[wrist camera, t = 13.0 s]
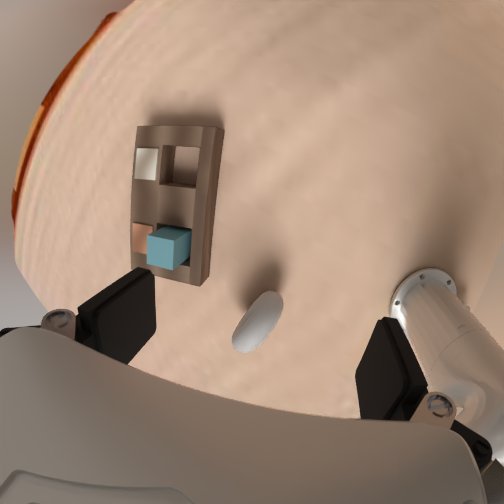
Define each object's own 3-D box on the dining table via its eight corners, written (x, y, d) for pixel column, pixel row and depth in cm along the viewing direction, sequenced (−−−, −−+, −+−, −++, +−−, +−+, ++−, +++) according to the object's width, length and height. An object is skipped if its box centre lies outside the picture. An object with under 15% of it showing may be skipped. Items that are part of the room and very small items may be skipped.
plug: (197, 226, 40) (174, 240, 33) (195, 251, 42) (172, 270, 34) (174, 222, 41) (147, 235, 33) (172, 246, 42) (146, 263, 35)
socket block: (224, 130, 35) (214, 126, 31) (208, 276, 42) (199, 287, 38) (151, 128, 37) (136, 125, 33) (143, 261, 44) (130, 270, 40)
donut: (272, 275, 40) (261, 307, 31) (290, 288, 40) (285, 323, 31) (236, 319, 44) (219, 356, 34) (254, 331, 44) (240, 370, 34)
